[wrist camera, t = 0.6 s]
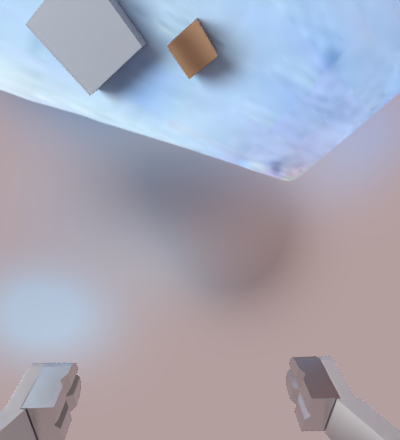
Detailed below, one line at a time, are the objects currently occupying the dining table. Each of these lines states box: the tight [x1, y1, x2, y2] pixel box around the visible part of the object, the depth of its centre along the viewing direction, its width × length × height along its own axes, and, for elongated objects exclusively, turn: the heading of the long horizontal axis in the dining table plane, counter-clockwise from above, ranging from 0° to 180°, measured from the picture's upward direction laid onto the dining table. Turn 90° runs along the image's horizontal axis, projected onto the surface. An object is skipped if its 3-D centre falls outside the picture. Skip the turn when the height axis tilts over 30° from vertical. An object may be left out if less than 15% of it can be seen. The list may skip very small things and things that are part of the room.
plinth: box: [26, 0, 147, 95], centre depth 39 cm, size 11×11×4 cm
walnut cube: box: [167, 18, 218, 79], centre depth 39 cm, size 5×5×5 cm
